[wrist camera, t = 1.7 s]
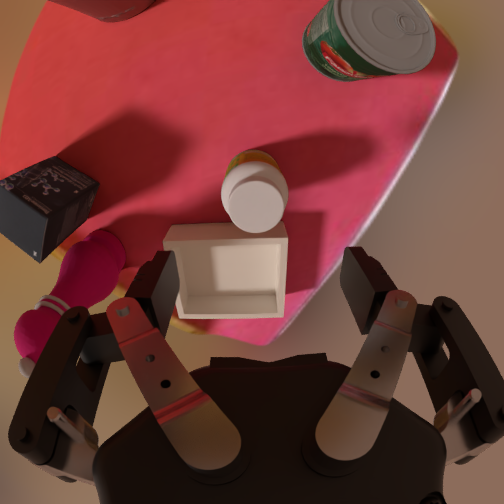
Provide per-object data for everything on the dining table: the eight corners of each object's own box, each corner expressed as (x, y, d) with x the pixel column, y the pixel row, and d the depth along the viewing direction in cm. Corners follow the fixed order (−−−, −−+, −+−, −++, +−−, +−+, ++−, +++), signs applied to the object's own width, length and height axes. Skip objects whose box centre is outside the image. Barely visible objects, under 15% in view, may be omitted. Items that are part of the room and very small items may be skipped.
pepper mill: (75, 230, 30) (-20, 339, 13) (120, 222, 30) (23, 349, 12) (93, 276, 34) (24, 393, 16) (136, 273, 33) (74, 408, 16)
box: (101, 181, 27) (48, 219, 18) (87, 220, 29) (40, 266, 20) (54, 153, 25) (-5, 181, 16) (44, 192, 27) (-9, 228, 18)
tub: (171, 224, 30) (162, 241, 27) (283, 221, 30) (288, 237, 27) (184, 297, 35) (179, 318, 32) (280, 295, 35) (283, 317, 32)
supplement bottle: (232, 143, 26) (225, 162, 17) (285, 155, 27) (303, 180, 18) (222, 193, 28) (211, 234, 20) (271, 203, 29) (282, 248, 21)
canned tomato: (313, 86, 23) (354, 76, 13) (292, 18, 19) (317, -26, 10) (383, 78, 22) (446, 74, 12) (363, 14, 18) (416, -18, 9)
